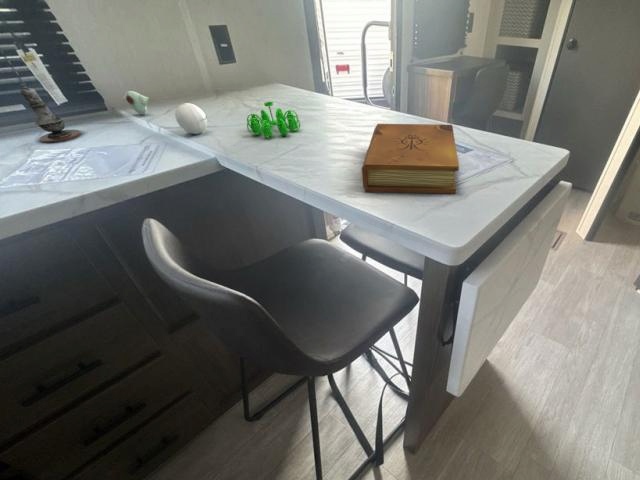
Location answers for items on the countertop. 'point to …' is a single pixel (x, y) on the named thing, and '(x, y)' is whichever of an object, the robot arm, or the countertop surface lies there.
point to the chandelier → (272, 122)
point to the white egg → (191, 118)
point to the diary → (411, 159)
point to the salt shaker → (44, 114)
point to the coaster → (55, 140)
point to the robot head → (136, 101)
